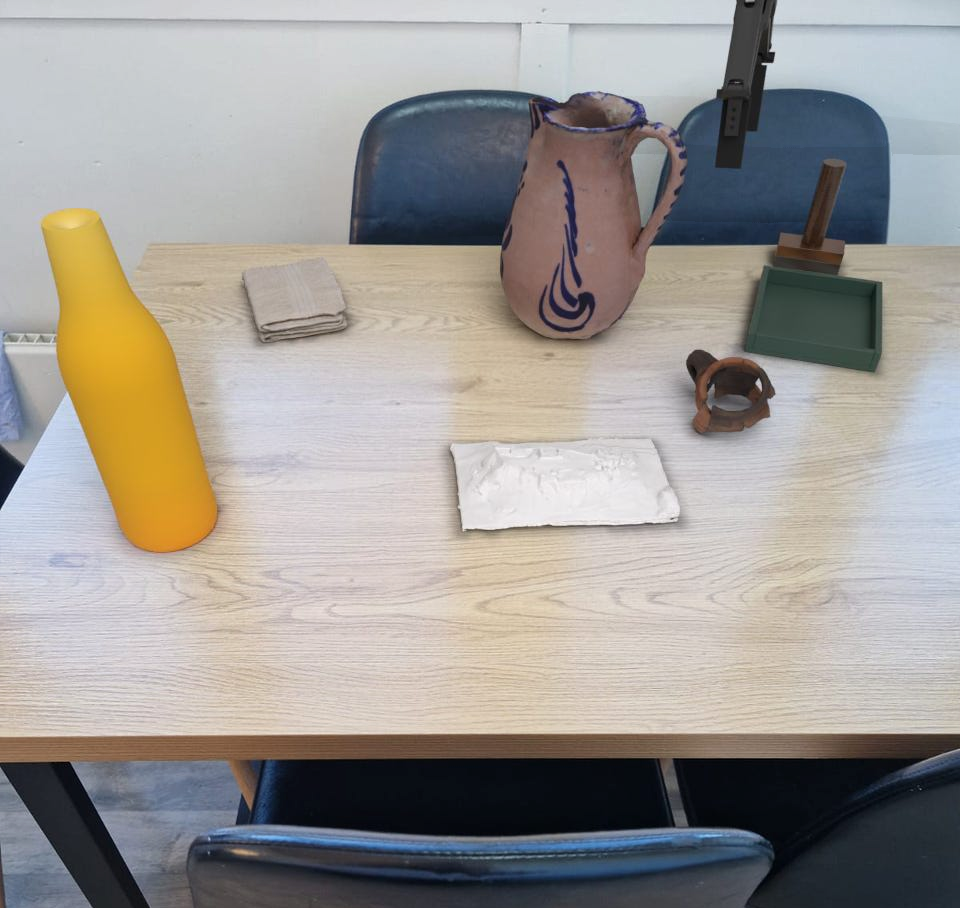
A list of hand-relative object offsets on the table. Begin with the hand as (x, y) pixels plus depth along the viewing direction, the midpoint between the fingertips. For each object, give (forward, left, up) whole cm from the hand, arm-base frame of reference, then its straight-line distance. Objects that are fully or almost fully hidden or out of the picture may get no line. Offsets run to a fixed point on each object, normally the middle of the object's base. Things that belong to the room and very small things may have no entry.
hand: (737, 148), depth 97 cm
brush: (-12, -22, -21) cm, 32 cm away
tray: (-14, -4, -21) cm, 25 cm away
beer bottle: (+44, +57, -21) cm, 75 cm away
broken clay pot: (-5, +21, -21) cm, 30 cm away
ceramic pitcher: (+15, +6, -21) cm, 26 cm away
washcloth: (+52, +13, -21) cm, 58 cm away
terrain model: (+9, +39, -21) cm, 46 cm away
